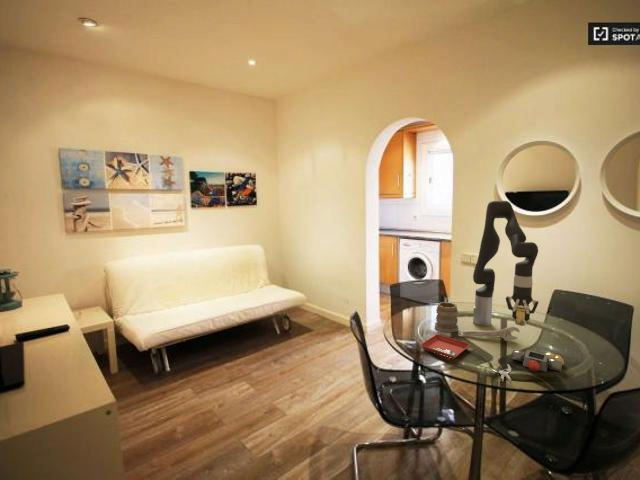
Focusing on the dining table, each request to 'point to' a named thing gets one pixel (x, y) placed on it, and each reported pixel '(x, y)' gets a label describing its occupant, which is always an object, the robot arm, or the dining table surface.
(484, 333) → the wrench
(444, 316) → the tankard
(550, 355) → the brass elbow
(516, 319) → the brass knob
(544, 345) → the dining table surface
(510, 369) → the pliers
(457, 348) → the plant saucer
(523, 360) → the valve body
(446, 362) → the dining table surface
